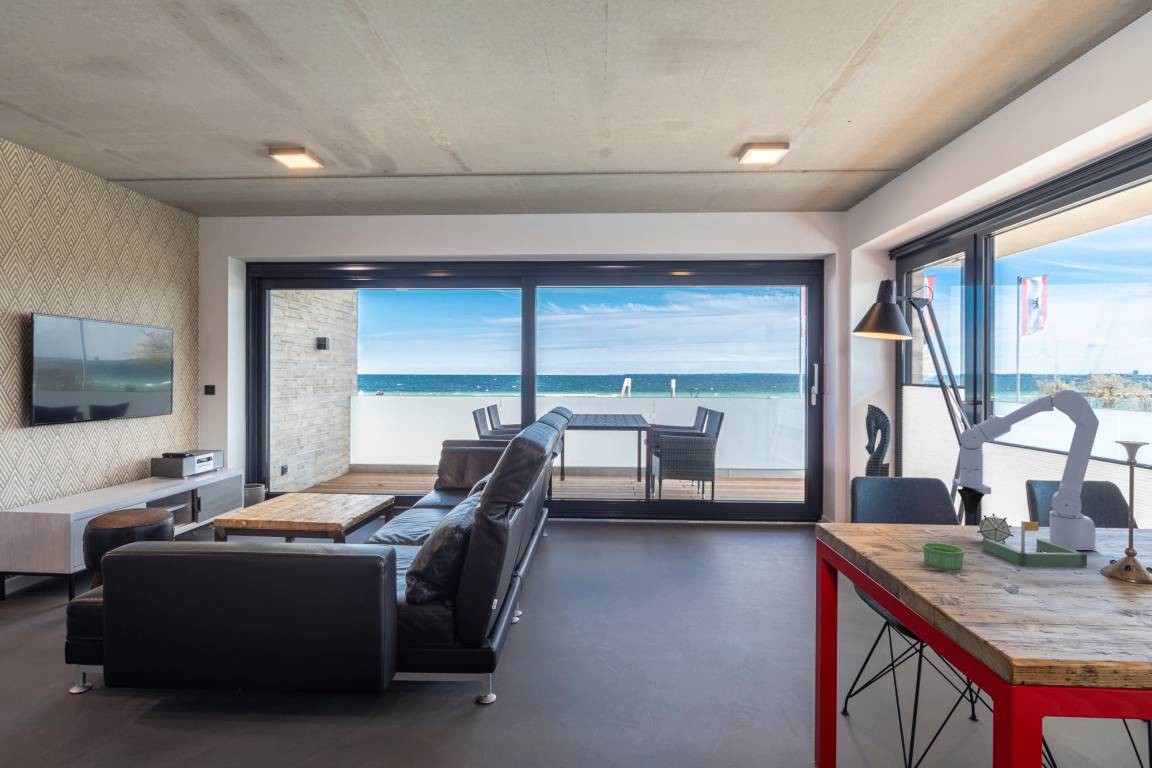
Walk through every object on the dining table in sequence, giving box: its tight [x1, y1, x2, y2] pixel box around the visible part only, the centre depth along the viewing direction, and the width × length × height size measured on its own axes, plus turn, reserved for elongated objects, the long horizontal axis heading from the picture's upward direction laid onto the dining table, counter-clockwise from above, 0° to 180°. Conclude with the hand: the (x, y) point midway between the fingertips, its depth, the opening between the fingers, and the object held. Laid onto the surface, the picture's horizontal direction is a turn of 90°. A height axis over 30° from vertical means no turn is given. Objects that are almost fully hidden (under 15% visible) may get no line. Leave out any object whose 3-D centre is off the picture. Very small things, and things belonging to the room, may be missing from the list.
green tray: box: [982, 520, 1088, 567], centre depth 150 cm, size 16×14×11 cm
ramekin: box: [921, 542, 965, 570], centre depth 145 cm, size 9×9×4 cm
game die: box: [975, 513, 1015, 544], centre depth 164 cm, size 9×8×10 cm
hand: (970, 513), depth 174 cm, fingers closed
